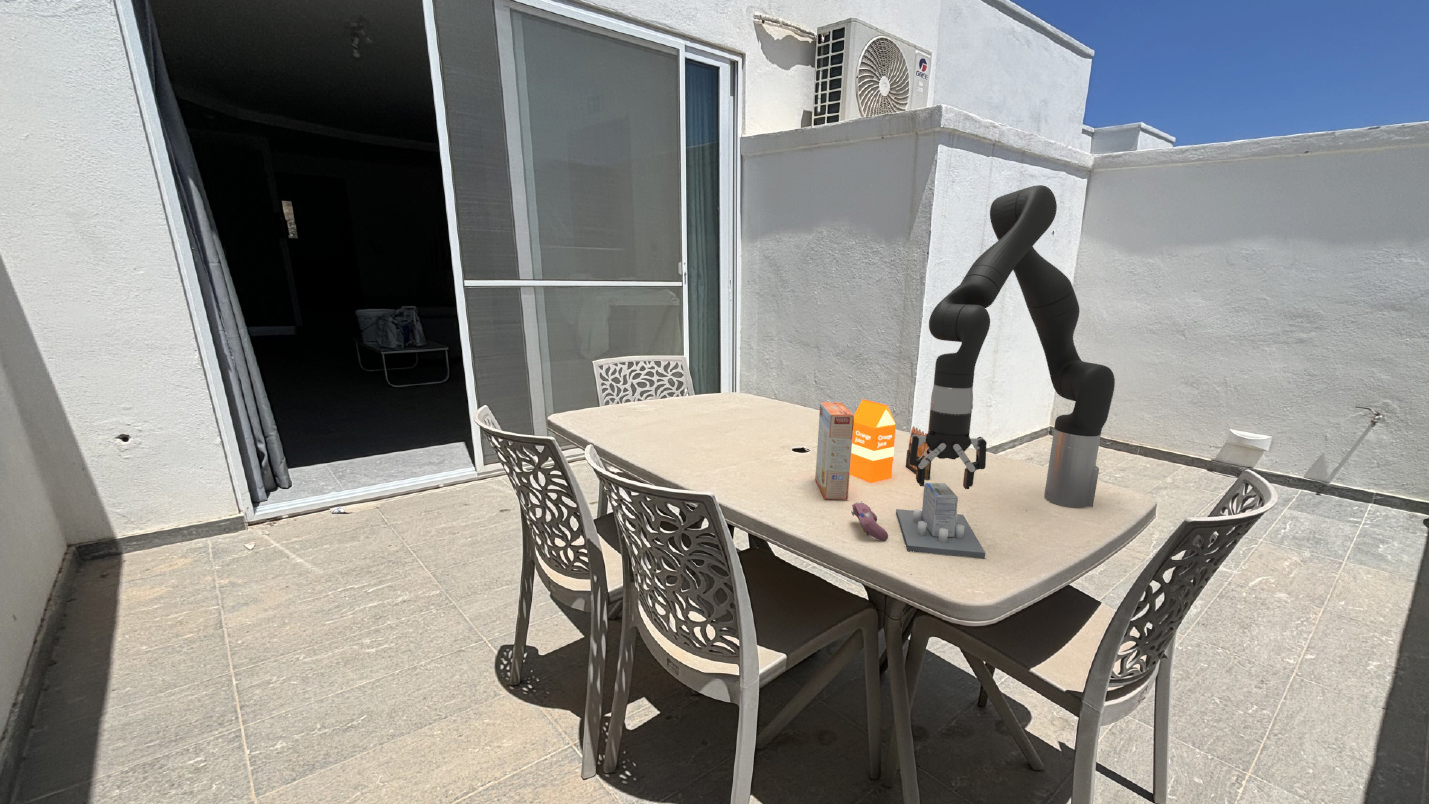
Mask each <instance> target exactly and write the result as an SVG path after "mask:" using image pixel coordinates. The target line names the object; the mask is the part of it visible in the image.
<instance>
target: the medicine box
mask: <svg viewBox="0 0 1429 804" xmlns="http://www.w3.org/2000/svg"><path fill="white" fill-rule="evenodd" d="M958 500H959V497H958V495H957V494H955V492H954V491H953V490H952V489H951V488H950V486H948V485H947V484H946V483H944V482H924V487H923V497H922V507H921V511H922V517H921V520H922V521H924V522H926V523H927V526H926V527H927V529H928V530H929V531H930V533H931V534H932V536H936V537H939V529H940V528H946V529H948V537H954V535H955V524H956V514H958V513H957V512H958V504H959V503H958Z"/></svg>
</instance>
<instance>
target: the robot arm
mask: <svg viewBox="0 0 1429 804" xmlns="http://www.w3.org/2000/svg"><path fill="white" fill-rule="evenodd" d="M1057 205H1058V204H1057V199H1056V196H1055V194H1054V192H1053V190H1051V188H1050V187H1048V186H1046V185H1044V184H1043V185H1042V184H1040V185H1038V184H1037V185H1032V186H1028V187H1024V188H1022V189H1019V190H1015V191H1012V192H1009V193H1006V194H1003V195H1001V196H998V197H996V198H995V199H994V200H993V201H992V203H991V205H990V207H989V208H990V210H989V219H990V224H991V227H992V229H993V232H994V235H995V237H996V239H997V241H996V242H995V243H993V245H991V246H990V247H989V248H988V249H986V250H985V251H984V252H983V253H982V254H980V256H978V257H977V259H976V260H975V261H974V262H973V263H972V264H971V266H970V267H969V269H968V271H967V273H966V274H965V276H964V277H963V278H962V280H961V283H960V284H959V285H957V286H956V287H955V288H954V289H952V291H950V292H949V293H948V294H947V295H946V296H945V297H943V299H942V300H941V301H939V303H937V304H936V306H935V307H934V308H933V310H932V311H931V314H930V316H929V319H928V320H929V321H928V329H929V332H930V335H931V336H932V337H933V338H935V339H937V340H939V341H946V342H957V343H961V345H960V347H959V348H958V350H957V351H956V352H949V353H944V354H940V355H938V356H937V358H936V360H935V365H934V375H933V377H934V378H933V387H932V391H931V394H930V395H931V397H930V405H929V406H930V407H929V418H928V428H927V429H928V430H927V432H926V433H927V435H926V436H918V435H916V434H912V435H911V434H910V436H911V438H910V437H909V440H910V445H909V444H908V449H909V452H908V461H909V464H910V465H914V466H916V467H917V470H916V474H915V480H916V483H917V484H918V485H919V486H920V487H923V488H924V485H925V481H926V480H925V468H924V467H925V466H926V465H927V464H928V463H929V462H931V463H932V461H934V459H935V458H937V459H940V460H941V459H942V460H944V459H949V460H955V461H956V459H960V460H961V461H962V462H963V464H964V466H965V467H966V468H964V473H963V482H962V486H963V488H964V490H970V487H973V486H974V479H975V472H976V471H977V470H985V469H986V467H987V465H986V463H987V462H986V461H987V458H986V457H987V444H988V443H987V441H986V439H984V437H983V436H978V437H977V438H976V437H975V438H972V437H970V433H971V432H970V431H971V421H972V413H973V408H974V407H973V406H974V403H973V402H974V393H973V392H974V389H973V388H974V379H975V370H976V365H977V361H978V358H979V355H980V353H981V349H982V348H983V345H984V343H985V341H986V337H987V336H988V333H989V330H990V328H991V327H990V326H991V317H990V313H989V311H988V310H987V308H988V307H991V306H992V304H994V302H995V300H996V299H997V297H998V295H999V294H1000V292H1001V290H1002V288H1003V286H1004V285H1005V283H1006V282H1007V280H1008V278H1009V277H1010V275H1011V274H1012V272H1013V273H1014V275H1015V278H1016V280H1017V282H1018V285H1019V287H1020V290H1021V292H1022V296H1023V298H1024V302H1025V305H1026V307H1027V310H1028V312H1029V315H1030V318H1031V320H1032V322H1033V324H1034V327H1035V331H1036V332H1037V335H1038V338H1039V341H1040V344H1041V347H1042V350H1043V353H1044V356H1045V360H1046V363H1047V367H1048V373H1049V377H1050V380H1051V381H1050V382H1051V383H1052V387H1053V389H1054V391H1055V393H1056V394H1057V395H1058V396H1059V397H1061V398H1064V399H1066V400H1068V401H1072V402H1074V407H1073V410H1072V412H1071V413H1068V414H1061V415H1058V416H1057V417H1056V418H1055V422H1054V428H1053V433H1052V442H1051V448H1050V455H1049V461H1048V468H1047V474H1046V475H1047V476H1046V483H1045V487H1044V496H1043V497H1044V499H1045V500H1046V501H1048V502H1050V503H1052V504H1055V505H1059V506H1062V507H1065V508H1067V507H1068V508H1072V509H1073V508H1074V509H1081V508H1084V507H1085V508H1088V507H1089V508H1092V507H1094V503H1095V496H1096V492H1097V491H1096V490H1097V485H1098V479H1099V473H1100V468H1099V466H1097V461H1098V452H1099V447H1100V442H1101V435H1102V431H1103V428H1104V426H1105V424H1106V422H1107V421H1108V417H1109V413H1110V408H1111V405H1112V400H1113V396H1114V392H1115V387H1116V386H1115V385H1116V381H1115V380H1116V378H1115V375H1114V372H1113V371H1112V369H1111V368H1110V367H1109V366H1106V365H1103V364H1099V363H1094V362H1088V361H1083V360H1082V359H1081V357H1080V356H1079V353H1078V351H1077V348H1076V346H1075V341H1074V333H1075V331H1076V327H1077V324H1078V321H1079V317H1080V305H1079V301H1078V297H1077V295H1076V293H1075V290H1074V289H1075V288H1074V287H1073V284H1072V282H1071V280H1070V279H1069V277H1068V276H1066V274H1065V273H1063V272H1062V270H1060V269H1059V268H1058V267H1057V266H1055V265H1053V264H1052V263H1051V262H1050V261H1048V260H1047V259H1046V258H1044V257H1043V256H1041V255H1040V254H1039V253H1038V251H1037V250H1036V249H1035V248H1034V245H1035V244H1036V243H1037V242H1038V240H1040V239H1041V238H1042V236H1043V235H1044V234H1045V233H1046V231H1048V229H1049V228H1050V227H1051V225H1052V224H1053V222H1054V220H1055V218H1056V215H1057V211H1058V210H1057V209H1058V207H1057ZM923 442H926V444H927V445H928V446H929V448H928V449H927V450H926V451H925V452H924V453H923V455H922V456H921V457H920V458H919V459H916V456H917V450H918V447H920V446H921V445H922V443H923ZM971 445H972V447H973V448H974V450H975V451H976V452H975V461H971V460H970V459H969V457H968V456H967V454H966V451H967V450H968V449H969V448H970V446H971Z"/></svg>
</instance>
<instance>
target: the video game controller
mask: <svg viewBox="0 0 1429 804" xmlns="http://www.w3.org/2000/svg"><path fill="white" fill-rule="evenodd" d="M851 507H852V510H851V512H850V513H851V515H852V516H853V517H855V516H856V517H857V519H858V522H859V523H860V525H861V527H862V529H861V531H862V533H865V534H866V536H869V535H870V536H871V537H872V538H874V539H876V540H878V541H880V542H885V541H887V540H888V539H889V534H888V531H886V529H885V528H883V527H882V526H881V525H879V523H877V521H878V516H877V514H876V513H874V511H872V509H871V507H870V506H869V505H868V504H867V503H866V504H865V502H863V501H860V502H856V503H853V504H851Z"/></svg>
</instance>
